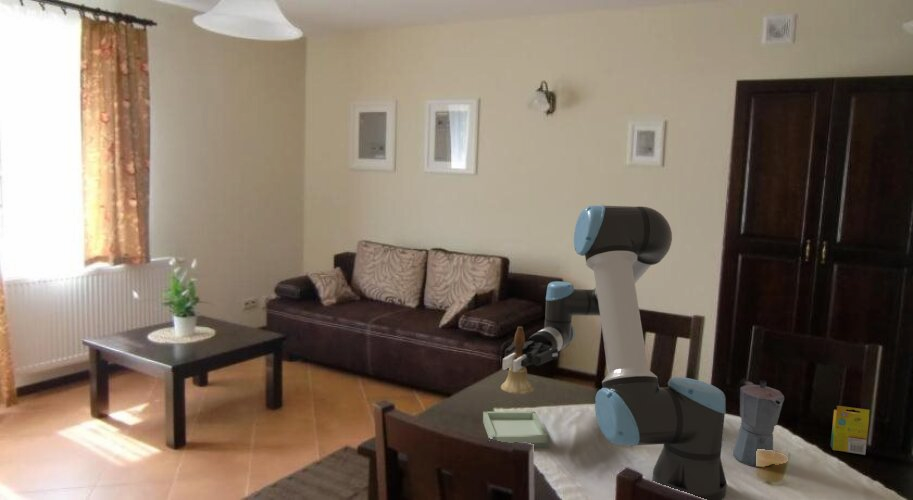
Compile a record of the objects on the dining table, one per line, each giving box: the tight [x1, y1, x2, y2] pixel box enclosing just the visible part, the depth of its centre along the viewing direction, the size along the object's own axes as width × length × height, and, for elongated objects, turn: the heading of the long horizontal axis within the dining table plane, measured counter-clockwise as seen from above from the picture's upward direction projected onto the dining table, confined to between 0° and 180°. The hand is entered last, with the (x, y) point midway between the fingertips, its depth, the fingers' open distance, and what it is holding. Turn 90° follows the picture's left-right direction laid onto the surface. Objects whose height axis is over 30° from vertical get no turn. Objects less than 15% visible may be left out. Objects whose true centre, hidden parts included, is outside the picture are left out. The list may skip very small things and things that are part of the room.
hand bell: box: [500, 326, 535, 395], centre depth 162 cm, size 8×8×16 cm
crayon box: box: [830, 405, 871, 456], centre depth 161 cm, size 7×3×12 cm, turn 70°
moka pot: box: [732, 377, 785, 468], centre depth 154 cm, size 10×15×20 cm, turn 15°
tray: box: [482, 411, 550, 449], centre depth 164 cm, size 16×14×3 cm
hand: (509, 365), depth 157 cm, fingers closed on hand bell, 2 cm apart
